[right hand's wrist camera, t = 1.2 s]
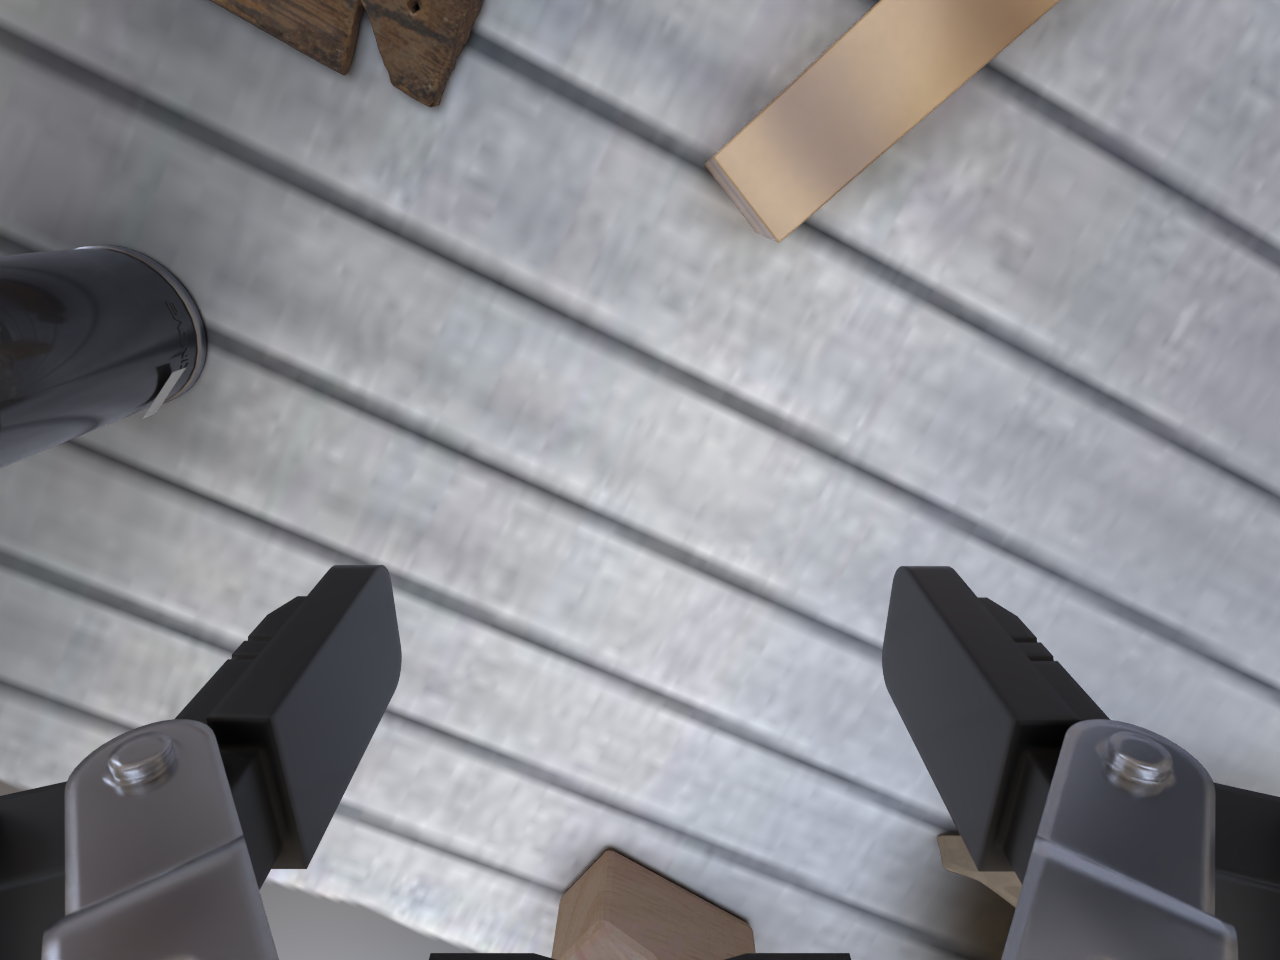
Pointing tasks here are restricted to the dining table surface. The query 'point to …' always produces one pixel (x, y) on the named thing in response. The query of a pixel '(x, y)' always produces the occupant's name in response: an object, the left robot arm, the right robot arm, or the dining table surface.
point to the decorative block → (642, 918)
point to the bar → (860, 102)
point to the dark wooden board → (407, 40)
